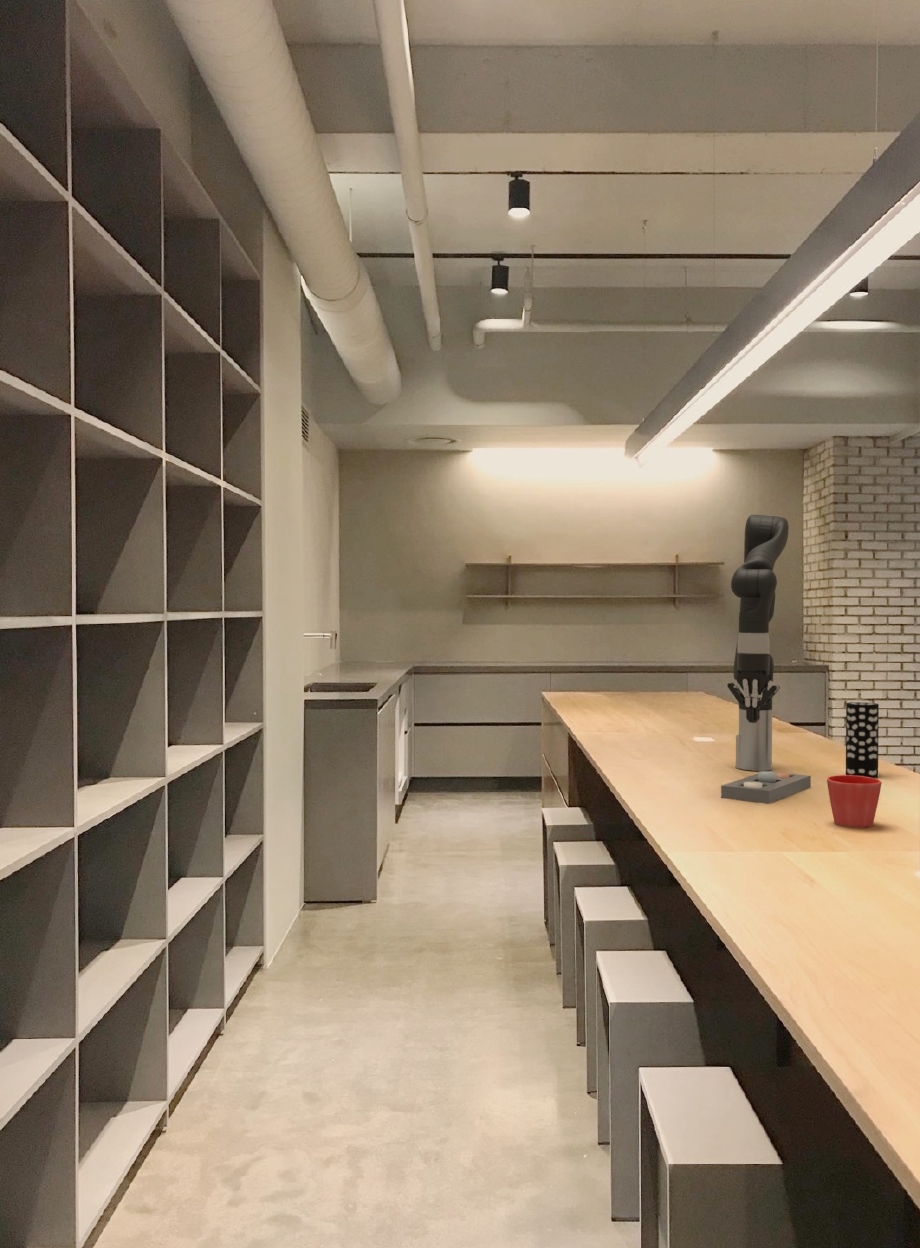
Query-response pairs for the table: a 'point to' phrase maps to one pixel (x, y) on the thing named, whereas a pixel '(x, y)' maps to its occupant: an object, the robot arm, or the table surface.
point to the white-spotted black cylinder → (862, 739)
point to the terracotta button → (782, 775)
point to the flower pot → (853, 799)
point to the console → (765, 788)
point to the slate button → (767, 776)
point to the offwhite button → (753, 784)
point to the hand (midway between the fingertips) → (753, 722)
